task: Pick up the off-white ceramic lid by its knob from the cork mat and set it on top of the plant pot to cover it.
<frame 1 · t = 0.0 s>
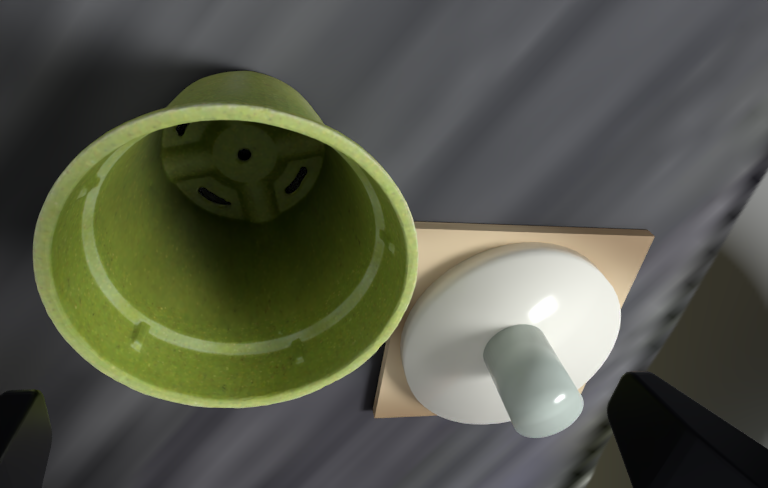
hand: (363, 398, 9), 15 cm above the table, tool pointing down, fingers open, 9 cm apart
plant pot: (246, 144, 22), on the table
mat: (501, 325, 29), on the table
lid: (505, 332, 29), point 1 cm above the table, touching mat
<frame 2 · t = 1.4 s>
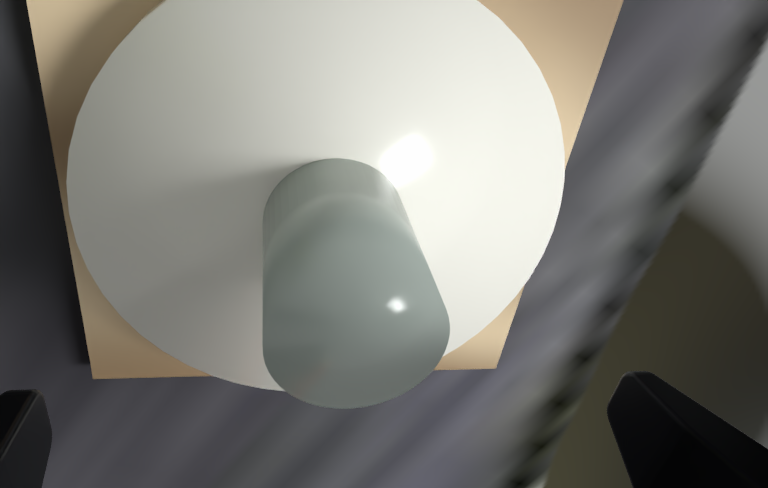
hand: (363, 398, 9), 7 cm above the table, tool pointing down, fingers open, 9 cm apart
mat: (327, 186, 14), on the table
lid: (329, 197, 14), point 1 cm above the table, touching mat
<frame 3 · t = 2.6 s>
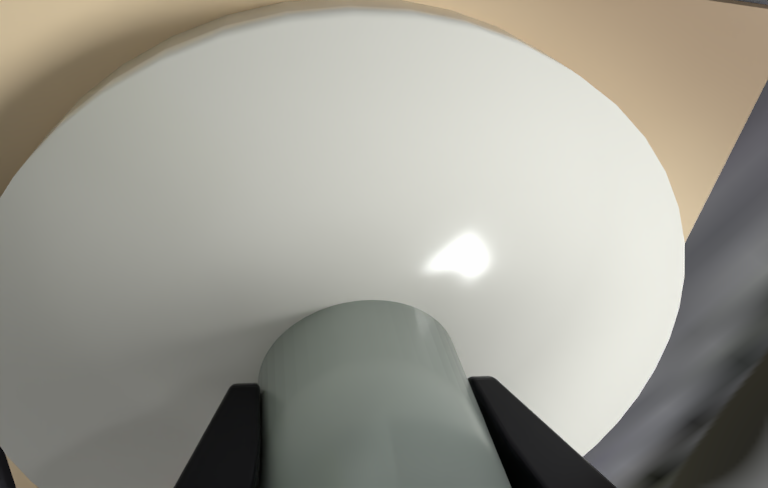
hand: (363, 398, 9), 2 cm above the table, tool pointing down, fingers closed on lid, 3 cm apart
mat: (346, 306, 11), on the table
lid: (350, 328, 10), point 1 cm above the table, touching gripper, mat
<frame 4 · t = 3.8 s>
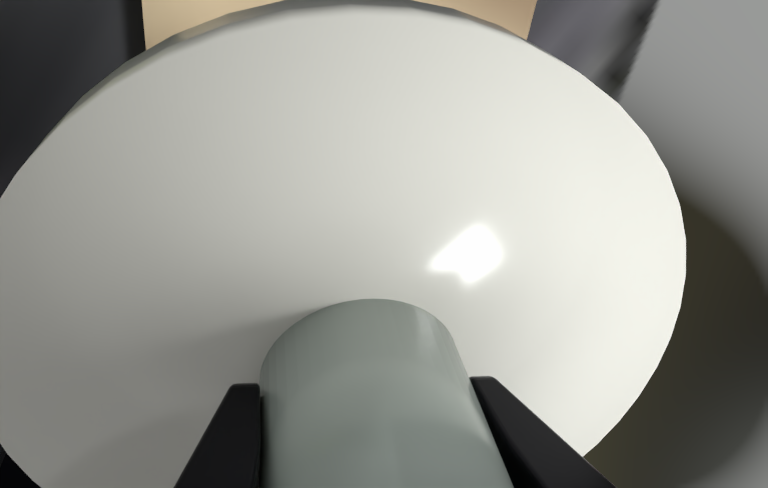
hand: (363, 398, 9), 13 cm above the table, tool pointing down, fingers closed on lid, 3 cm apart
mat: (335, 130, 20), on the table
lid: (351, 327, 10), point 11 cm above the table, touching gripper
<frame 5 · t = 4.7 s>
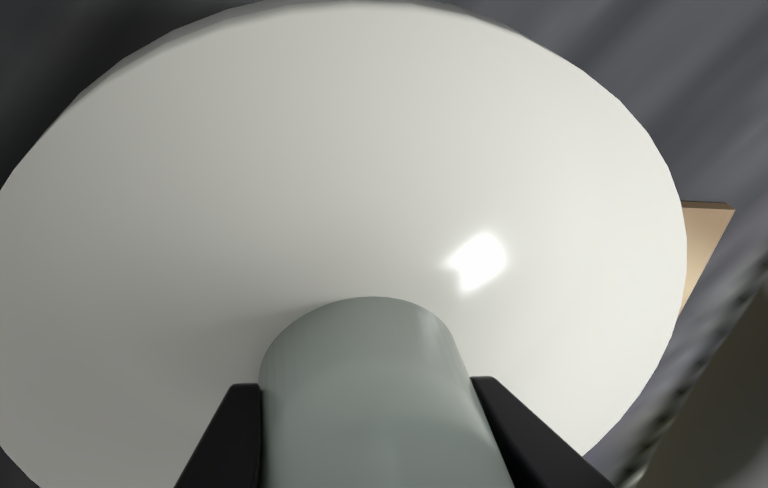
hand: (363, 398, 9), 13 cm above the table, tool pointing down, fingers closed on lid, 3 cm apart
mat: (563, 308, 27), on the table
lid: (350, 325, 10), point 11 cm above the table, touching gripper
when the fingers open (12 cm above the table, at t = 5.2 s): lid drops 2 cm, resting on plant pot.
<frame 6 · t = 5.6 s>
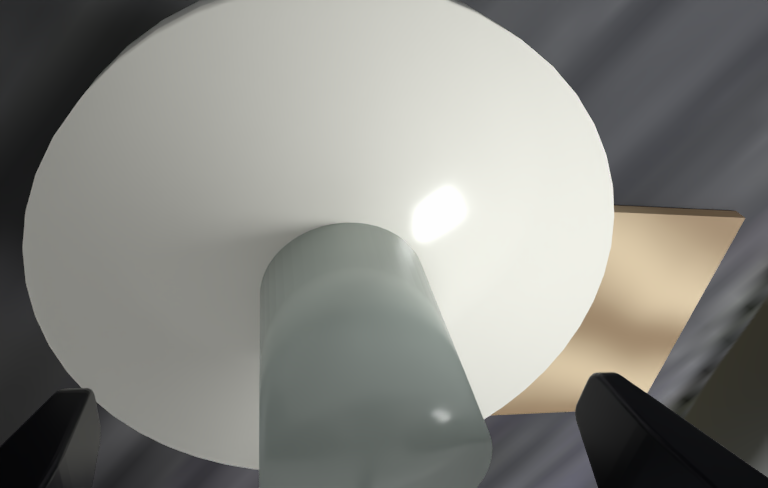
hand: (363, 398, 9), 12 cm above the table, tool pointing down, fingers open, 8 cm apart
mat: (569, 316, 27), on the table
lid: (337, 258, 12), point 9 cm above the table, touching plant pot
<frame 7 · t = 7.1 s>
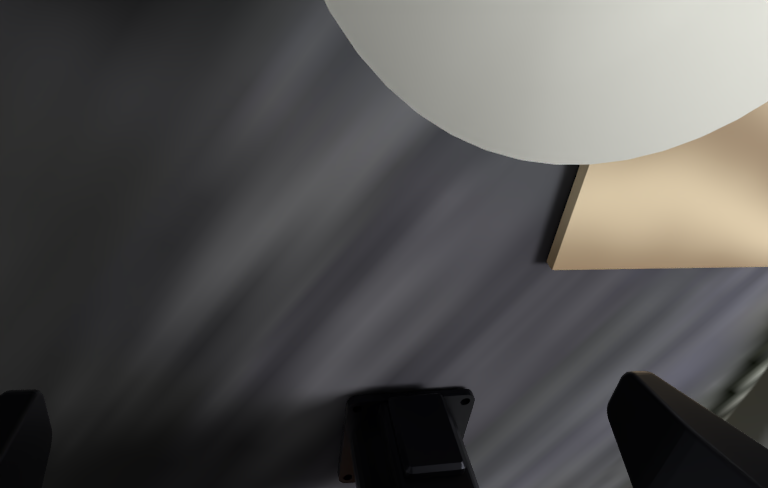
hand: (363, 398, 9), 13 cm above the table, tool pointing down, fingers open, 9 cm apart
mat: (722, 140, 23), on the table
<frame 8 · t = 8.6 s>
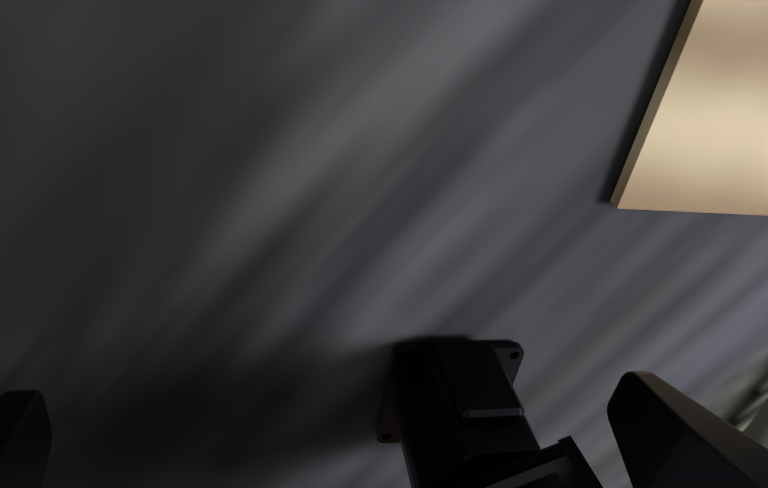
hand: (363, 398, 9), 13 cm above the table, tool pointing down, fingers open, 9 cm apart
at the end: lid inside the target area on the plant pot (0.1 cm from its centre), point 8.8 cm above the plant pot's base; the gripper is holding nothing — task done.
